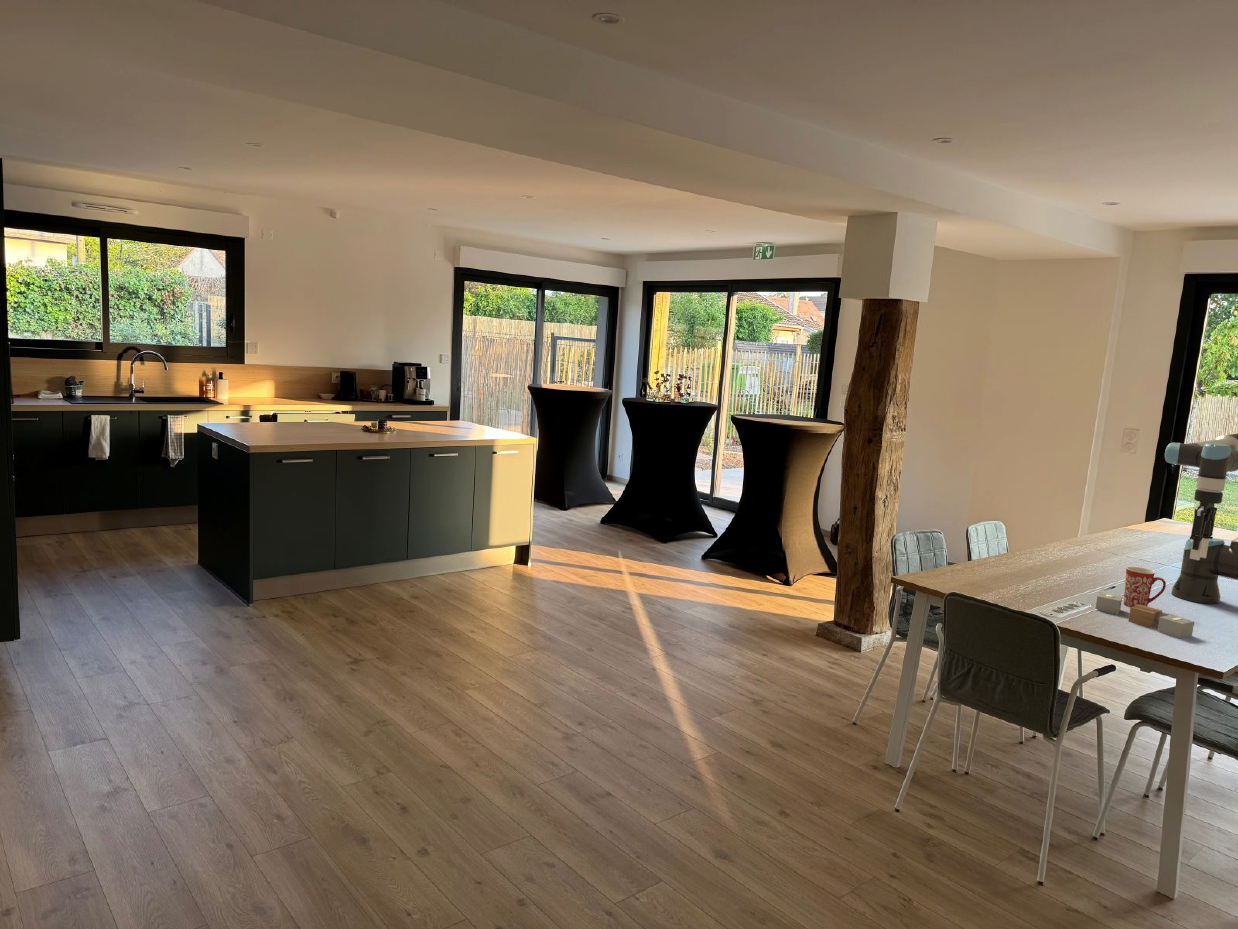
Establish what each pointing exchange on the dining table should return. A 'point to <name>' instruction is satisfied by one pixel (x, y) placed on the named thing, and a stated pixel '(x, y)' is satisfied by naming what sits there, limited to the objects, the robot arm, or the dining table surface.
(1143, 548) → the dining table surface
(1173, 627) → the marked block
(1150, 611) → the walnut block
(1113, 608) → the marked block
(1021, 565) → the dining table surface
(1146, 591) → the mug
